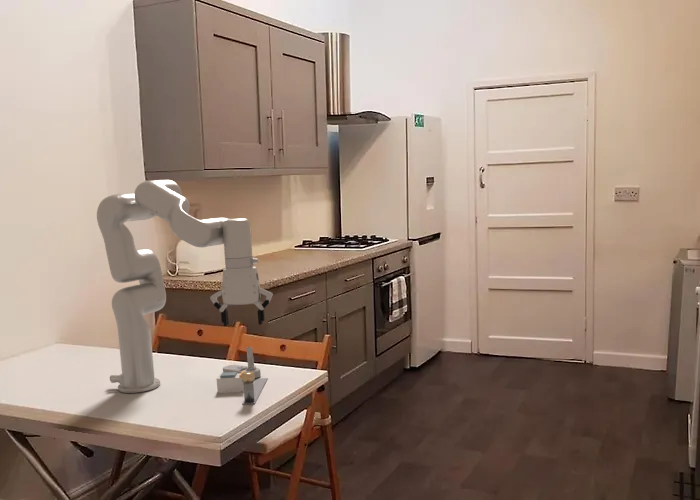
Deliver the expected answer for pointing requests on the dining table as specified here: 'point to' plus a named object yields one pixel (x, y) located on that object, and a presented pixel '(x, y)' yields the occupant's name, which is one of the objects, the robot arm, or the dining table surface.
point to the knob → (248, 386)
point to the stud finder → (229, 382)
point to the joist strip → (257, 389)
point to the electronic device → (244, 368)
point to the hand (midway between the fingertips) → (243, 324)
